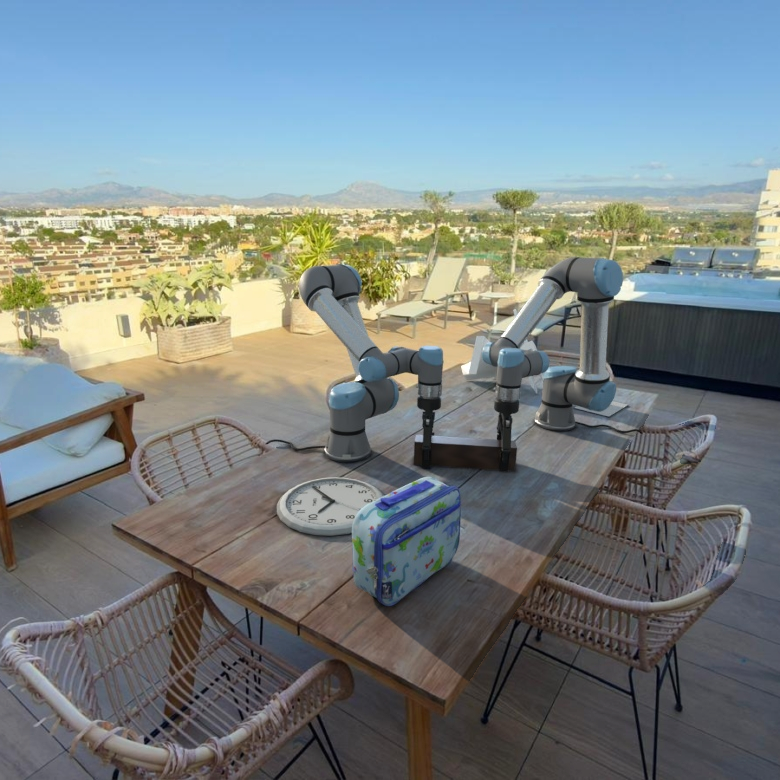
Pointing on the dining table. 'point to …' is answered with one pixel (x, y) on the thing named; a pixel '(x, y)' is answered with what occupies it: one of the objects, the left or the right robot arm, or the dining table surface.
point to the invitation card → (609, 411)
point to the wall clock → (325, 505)
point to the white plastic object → (484, 370)
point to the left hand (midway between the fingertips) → (426, 460)
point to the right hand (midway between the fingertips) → (501, 461)
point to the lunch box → (405, 538)
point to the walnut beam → (464, 452)
